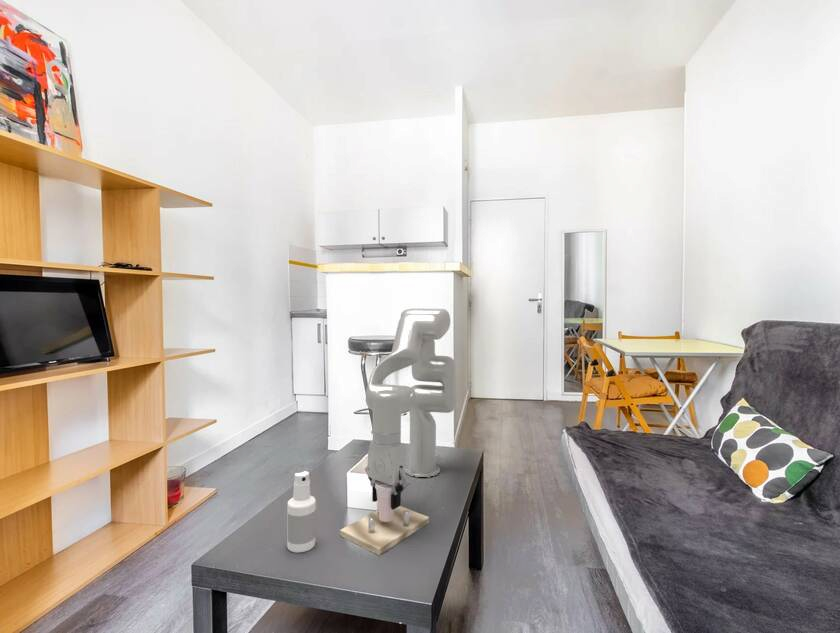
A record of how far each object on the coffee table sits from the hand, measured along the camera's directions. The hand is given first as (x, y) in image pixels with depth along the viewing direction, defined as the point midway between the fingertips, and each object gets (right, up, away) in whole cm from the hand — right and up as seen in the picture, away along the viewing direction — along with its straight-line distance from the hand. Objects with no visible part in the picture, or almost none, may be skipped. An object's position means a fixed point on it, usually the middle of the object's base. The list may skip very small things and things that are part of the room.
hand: (386, 503), depth 113 cm
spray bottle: (-20, -7, -8) cm, 23 cm away
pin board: (0, -7, 0) cm, 7 cm away
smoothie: (0, -4, 0) cm, 4 cm away
